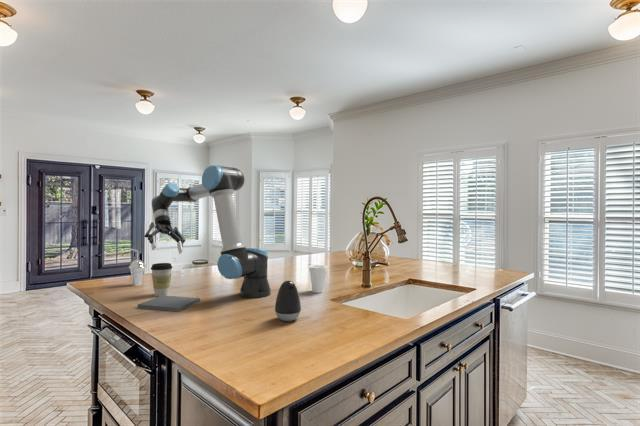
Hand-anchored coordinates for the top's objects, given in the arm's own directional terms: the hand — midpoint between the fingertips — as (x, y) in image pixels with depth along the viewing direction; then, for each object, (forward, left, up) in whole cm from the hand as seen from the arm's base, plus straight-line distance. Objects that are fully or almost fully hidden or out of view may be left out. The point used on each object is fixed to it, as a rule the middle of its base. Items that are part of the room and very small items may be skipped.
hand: (167, 250), depth 173 cm
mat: (-13, +16, -22) cm, 30 cm away
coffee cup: (+2, +2, -22) cm, 22 cm away
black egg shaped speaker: (-70, +22, -22) cm, 76 cm away
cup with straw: (+29, -13, -22) cm, 39 cm away
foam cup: (-71, -25, -22) cm, 78 cm away
